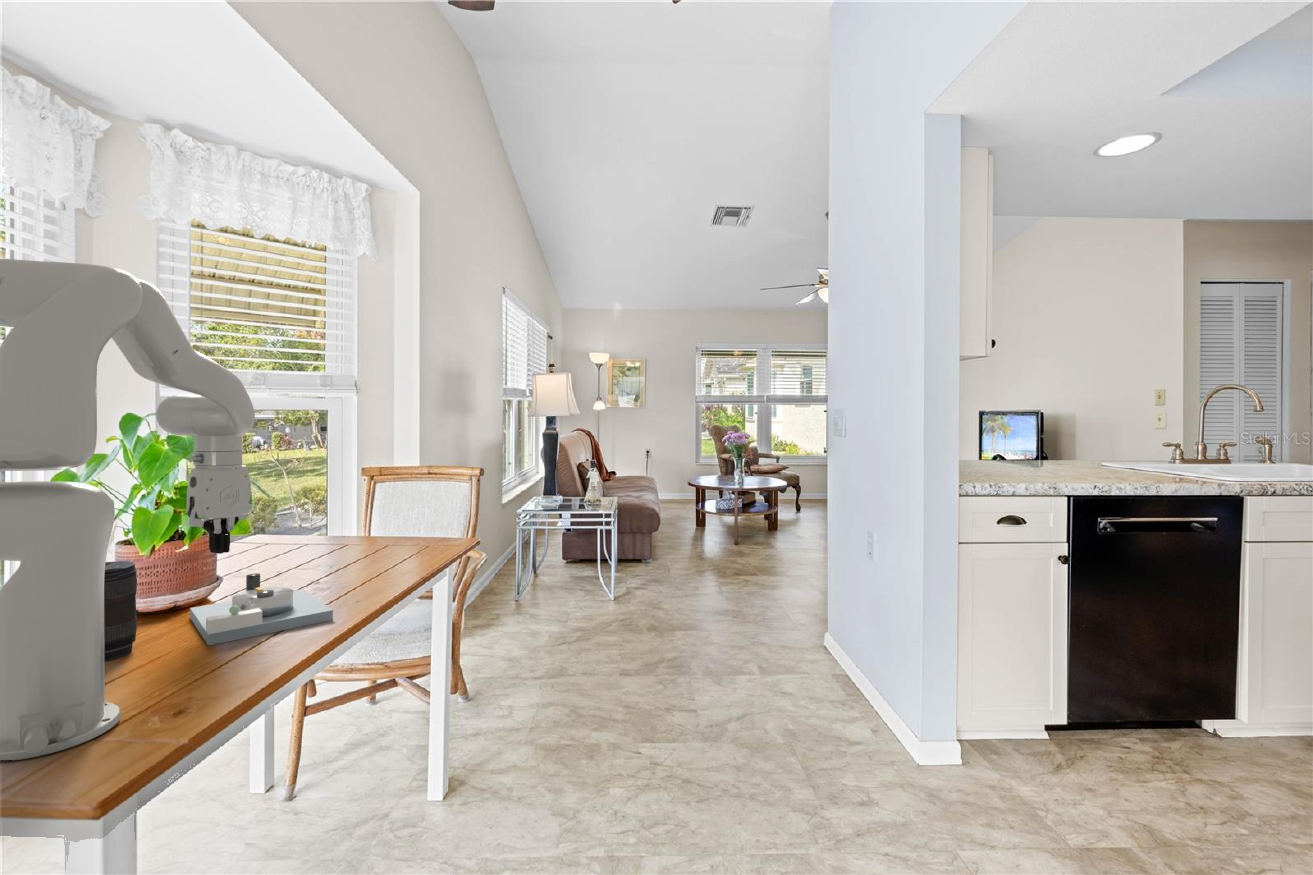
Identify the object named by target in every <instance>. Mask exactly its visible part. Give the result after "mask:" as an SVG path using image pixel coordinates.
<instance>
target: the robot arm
mask: <svg viewBox="0 0 1313 875" xmlns="http://www.w3.org/2000/svg"><path fill="white" fill-rule="evenodd" d="M0 327H8V328H12V329H11V330H10V331H9V332H8V333H7V335H5V338H4V339H3V341H2V343H1V344H0V472H21V471H22V472H29V471H30V472H31V471H32V472H33V471H34V472H35V471H37V472H39V471H44V472H46V471H61V470H63V471H64V470H69V469H74V468H75V469H76V468H78V467H81V466H84V465H85V464H86V463H87V462H89V461H90V460H91V459H92V457H93V456H94V454H95V452H96V447H97V440H98V438H97V436H98V408H97V407H98V406H97V405H98V402H97V398H98V397H97V395H98V394H97V389H98V388H97V387H98V386H97V380H98V378H97V375H98V363H99V359H100V356H101V353H102V352H103V350H104V347H105V346H106V345H107V344H108V342H109V341H110V339H112V340H113V341H114V343H115V345H116V346H117V348H118V349H119V350H120V352H121V353H122V355H123V356H124V357H125V358H124V359H126V361H127V362H128V364H129V365H130V366H131V368H132V370H133V371H134V372H135V373H136V374H138V376H140V377H141V378H144V379H146V380H148V381H151V382H154V383H156V384H159V385H162V386H165V387H169V388H173V389H176V390H181V391H184V392H187V393H192V394H176V395H171V396H168V397H166V398H165V399H163V400H162V401H161V402H160V403H159V405H157V406H158V407H157V409H156V412H155V416H156V421H157V424H158V425H159V427H160V429H162V430H163V431H165V432H167V433H168V434H171V435H174V436H180V437H181V436H182V437H183V436H186V437H194V452H193V455H189V456H188V462H189V463H194V467H191V469H190V473H189V477H188V482H187V483H188V484H187V490H186V491H187V492H186V514H187V517H188V518H189V520H188V526H190V527H196V528H201V529H202V530H204V531H205V532H206V533H208V548H209V552H210V553H211V554H219V555H221V554H226V553H230V546H231V532H233V531H234V528H235V526H236V525H237V524H238V522H240V521H243V520H245V519H247V518H248V516H249V514H250V513H251V512H252V511H253V501H252V502H251V503H252V504H250V495H251V499H252V500H253V492H252V484H251V483H252V482H251V477H250V474H249V469H248V466H247V465H245V464H244V465H243V435H245V434H247V433H249V432H250V431H251V430H252V428H253V426H254V424H255V421H256V420H255V419H256V414H255V409H254V405H253V402H252V400H251V398H250V395H249V394H248V392H247V389H246V388H245V385H244V384H243V382H242V381H241V380H240V378H239V377H237V375H235V374H234V373H233V372H232V371H230V370H229V369H227V368H226V367H224V366H222V365H221V364H219V363H218V362H217V361H215V360H213V359H212V358H210V357H208V356H206V355H204V354H203V353H200V352H199V351H197V350H195V349H193V347H192V345H191V343H190V341H189V340H188V338H187V336H186V335H185V333H184V330H183V329H182V327H181V325H180V324H179V322H178V320H177V317H176V316H175V315H174V313H173V311H172V309H171V307H170V306H169V304H168V302H167V300H166V298H165V297H164V295H163V294H162V292H161V291H160V290H159V289H158V288H157V287H156V286H154V284H152V283H150V282H148V281H145V280H143V279H139V278H136V277H135V276H134V275H132V274H131V273H129V272H127V271H125V270H122V269H119V268H117V267H111V266H105V265H97V264H88V263H80V262H79V263H78V262H64V261H63V262H61V261H43V260H41V261H40V260H29V259H27V260H26V259H12V258H0ZM208 466H209V467H210V468H209V467H208ZM233 468H238V469H234V470H233ZM249 493H250V495H249ZM115 513H116V512H115V506H114V502H113V501H112V498H111V497H110V496H109V495H108V494H107V493H106V492H105V491H104V490H102V489H100V488H98V487H96V486H94V485H91V484H87V483H82V482H75V481H62V480H60V481H58V480H57V481H55V480H53V481H49V480H48V481H41V480H40V481H11V482H10V481H0V561H1V562H2V561H4V562H5V561H7V562H8V561H9V562H12V561H13V562H20V564H19V566H18V568H17V569H16V570H15V572H14V573H13V574H12V575H11V576H10V578H9V579H8V580H7V581H6V582H5V583H4V584H3V586H2V587H1V588H0V760H12V761H19V760H27V759H32V758H37V757H41V756H46V755H50V754H53V753H57V752H60V751H64V750H67V749H70V748H73V747H76V746H78V745H81V744H84V743H85V742H88V741H91V740H93V739H95V738H97V737H99V736H101V735H103V734H105V733H107V732H108V731H109V730H111V729H112V728H113V727H115V725H117V724H118V723H119V721H120V719H121V716H122V715H121V708H120V706H118V705H117V704H115V703H111V702H107V701H106V702H105V661H104V574H105V562H107V555H108V554H107V553H108V548H109V544H110V539H111V536H112V532H113V527H114V523H115V522H114V521H115ZM225 534H228V535H225Z"/></svg>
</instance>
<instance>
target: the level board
mask: <svg viewBox="0 0 1313 875" xmlns="http://www.w3.org/2000/svg"><path fill="white" fill-rule="evenodd" d="M239 611H240V607H239V606H237V605H234V606H232V600H230V601H224V602H218V603H213V604H212V603H211V604H207V605H200V606H193V607H189V619H190V620H191V622H192V623H193V625H194V626H195V627H196V629H197V631H198V632H199V634H200V635H201V636H202V638H203V640H204V641H205V643H206V644H207V646H212V645H219V644H222V643H228V642H233V641H236V640H237V641H238V640H243V639H246V638H247V639H248V638H253V637H257V636H261V635H267V634H272V633H277V632H282V631H285V630H290V629H295V628H296V629H297V628H300V627H305V626H310V625H316V624H320V623H326V622H330V621H333V620H334V619H333V618H334V610H333V609H332V608H331V607H329V606H328V605H326V604H325V603H323V601H320V600H319V599H318V598H317V597H315V596H314V595H313V594H311V593H310V592H308V591H306V590H305V589H296V590H293V607H292V608H291V609H289V610H287V611H284V612H281V613H278V614H274V615H269V616H262V610H260V609H259V608H257V609H252V610H246V611H240V612H239Z"/></svg>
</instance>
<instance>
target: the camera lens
mask: <svg viewBox="0 0 1313 875" xmlns="http://www.w3.org/2000/svg"><path fill="white" fill-rule="evenodd" d="M137 570H138V569H137V568H136V563H135V562H133V561H130V560H129V561H127V560H116V561H114V560H113V561H106V562H105V574H104V662H106V661H111V660H116V659H120V658H122V657H125V656H127V655H129V654H130V653H131V652H132V651H133V644H134V643H135V642H136V639H137V638H136V637H137V636H136V635H137V632H138V622H137V621H138V620H137V610H136V593H137Z"/></svg>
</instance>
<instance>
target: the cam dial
mask: <svg viewBox="0 0 1313 875" xmlns="http://www.w3.org/2000/svg"><path fill="white" fill-rule="evenodd" d="M245 578H246V579H245V581H246V582H245V583H246V585H245V591H242V592H239V593H237V594H234V595H232V598H231V601H232V606H234V605H237V606H239V607H240V611H246V610H252V609H257V608H259V609H260V610H262V616H269V615H274V614H278V613H281V612H284V611H287V610H289V609H291V608H292V607H293V591H294V590H293V588H290V587H284V586H282V587H281V586H280V587H279V586H276V587H275V586H272V587H261V573H259V572H258V573H249V574H246V577H245ZM240 611H239V612H240Z"/></svg>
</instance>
